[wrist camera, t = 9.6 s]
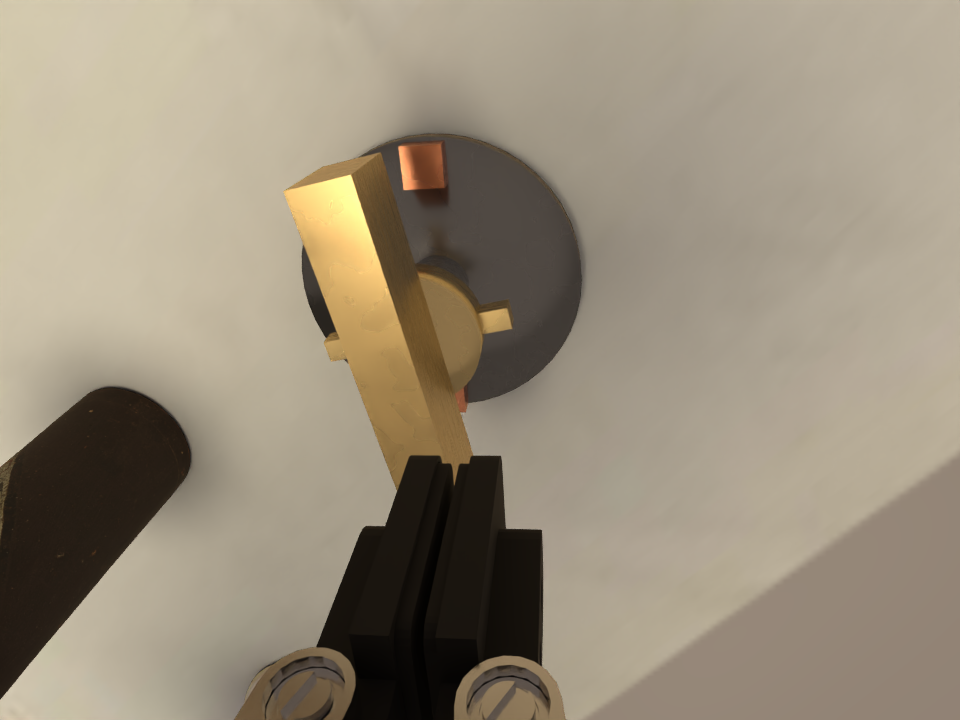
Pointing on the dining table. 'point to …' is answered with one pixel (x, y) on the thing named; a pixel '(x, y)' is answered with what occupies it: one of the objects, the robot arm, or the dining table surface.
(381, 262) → the gold bar handle
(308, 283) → the post base
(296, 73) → the dining table surface
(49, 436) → the container
